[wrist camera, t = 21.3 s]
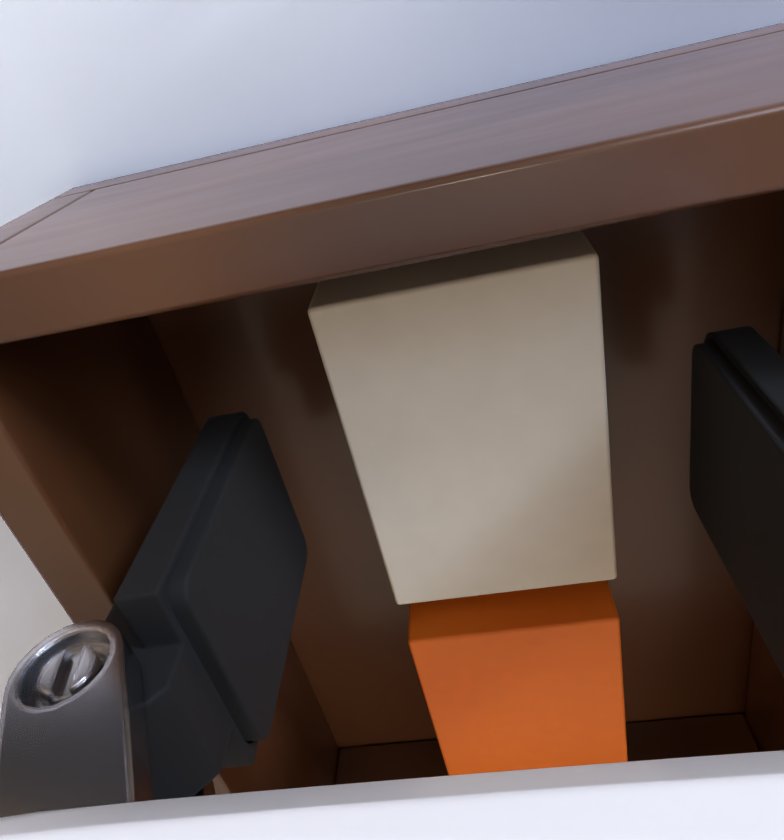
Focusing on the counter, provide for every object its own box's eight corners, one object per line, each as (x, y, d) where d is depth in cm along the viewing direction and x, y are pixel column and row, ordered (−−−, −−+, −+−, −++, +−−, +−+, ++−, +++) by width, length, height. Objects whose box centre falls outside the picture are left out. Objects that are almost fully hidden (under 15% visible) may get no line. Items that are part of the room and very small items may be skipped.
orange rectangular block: (591, 528, 14) (620, 619, 12) (605, 700, 17) (630, 796, 15) (409, 552, 15) (407, 642, 13) (454, 714, 18) (457, 808, 16)
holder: (840, 9, 10) (1181, 17, 5) (761, 699, 18) (868, 925, 14) (71, 188, 12) (-147, 303, 7) (322, 738, 20) (293, 948, 16)
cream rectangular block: (566, 203, 11) (599, 253, 9) (589, 491, 14) (618, 580, 12) (328, 252, 11) (304, 309, 9) (400, 518, 14) (396, 607, 12)
